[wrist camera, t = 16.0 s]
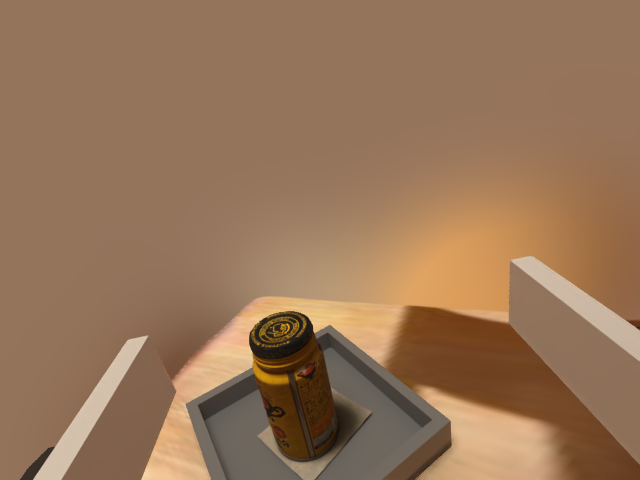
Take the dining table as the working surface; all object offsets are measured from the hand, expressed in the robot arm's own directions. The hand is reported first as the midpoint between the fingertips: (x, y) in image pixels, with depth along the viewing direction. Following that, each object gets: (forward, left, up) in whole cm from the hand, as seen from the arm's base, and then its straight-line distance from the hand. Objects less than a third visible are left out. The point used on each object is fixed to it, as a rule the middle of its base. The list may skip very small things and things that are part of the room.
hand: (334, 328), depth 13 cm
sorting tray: (-3, -14, -21) cm, 26 cm away
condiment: (-3, -14, -21) cm, 25 cm away
